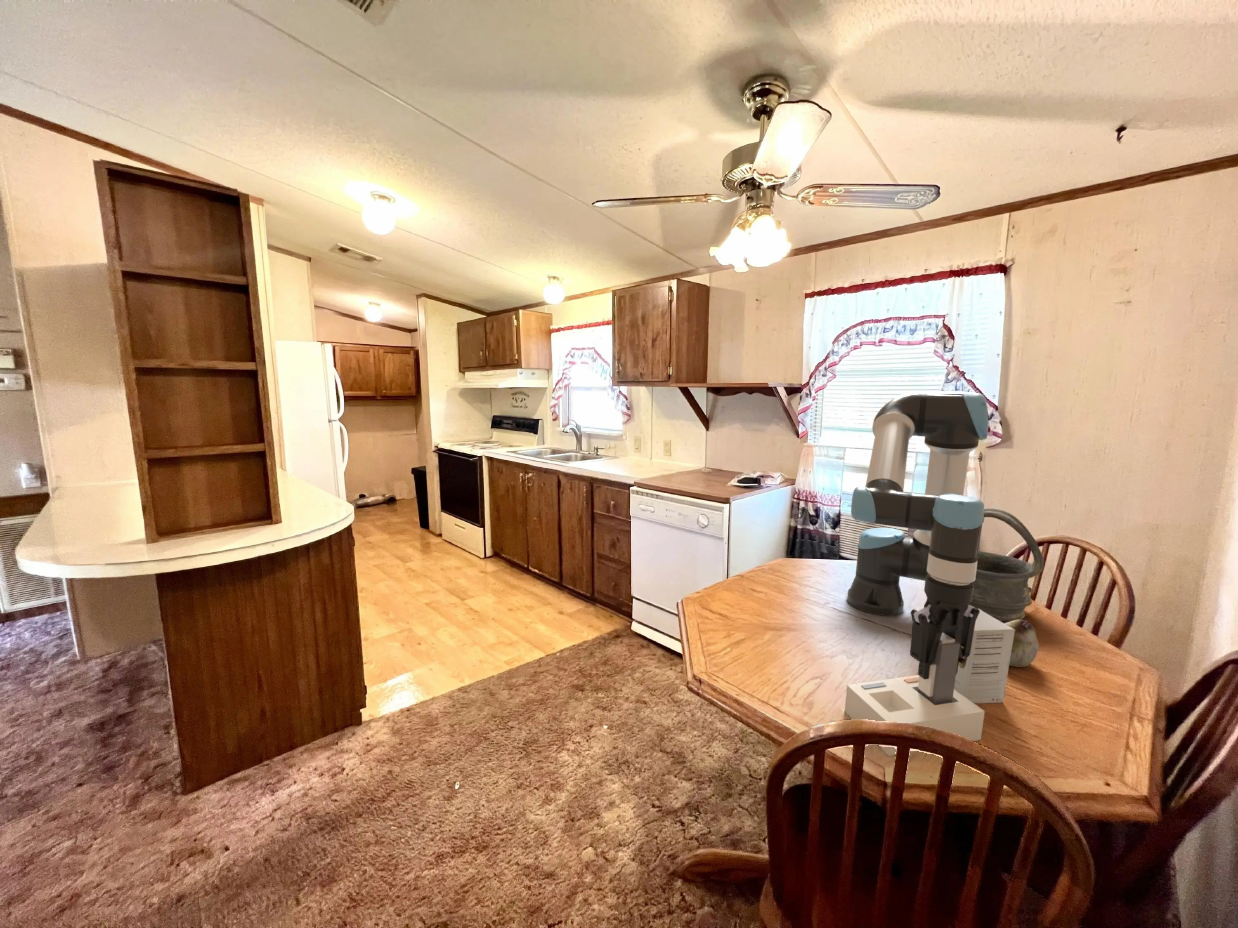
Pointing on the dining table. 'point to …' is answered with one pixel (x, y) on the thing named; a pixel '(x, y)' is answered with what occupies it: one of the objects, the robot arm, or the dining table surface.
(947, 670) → the plug
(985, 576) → the clay pot
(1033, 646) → the fruit
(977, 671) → the supplement box
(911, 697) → the socket block
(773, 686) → the dining table surface
